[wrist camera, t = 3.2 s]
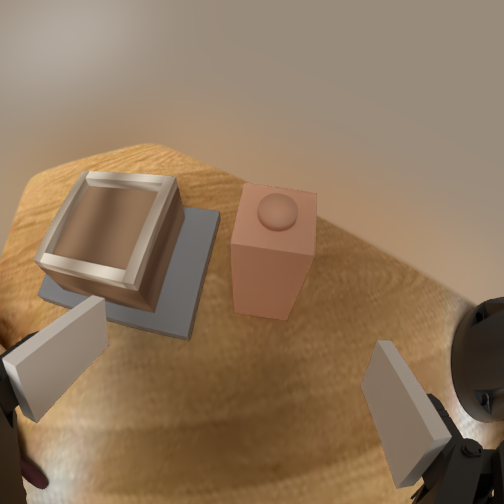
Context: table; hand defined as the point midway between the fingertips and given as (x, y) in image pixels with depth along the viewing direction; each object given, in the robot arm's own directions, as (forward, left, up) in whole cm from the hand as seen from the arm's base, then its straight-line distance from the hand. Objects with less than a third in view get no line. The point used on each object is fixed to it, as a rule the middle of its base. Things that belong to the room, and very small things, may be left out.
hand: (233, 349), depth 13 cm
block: (-1, -9, -13) cm, 16 cm away
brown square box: (+14, -10, -12) cm, 21 cm away
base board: (+14, -10, -13) cm, 22 cm away
